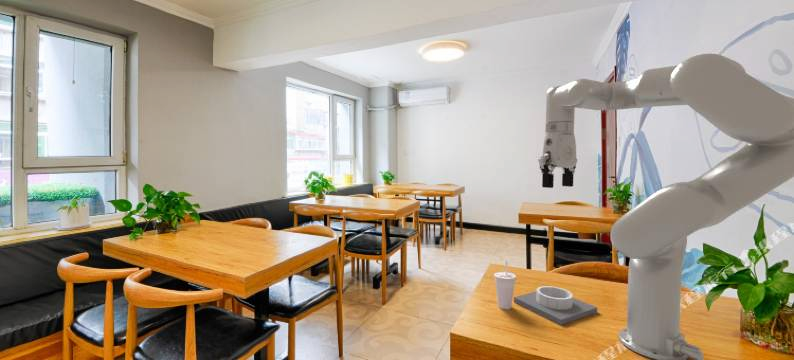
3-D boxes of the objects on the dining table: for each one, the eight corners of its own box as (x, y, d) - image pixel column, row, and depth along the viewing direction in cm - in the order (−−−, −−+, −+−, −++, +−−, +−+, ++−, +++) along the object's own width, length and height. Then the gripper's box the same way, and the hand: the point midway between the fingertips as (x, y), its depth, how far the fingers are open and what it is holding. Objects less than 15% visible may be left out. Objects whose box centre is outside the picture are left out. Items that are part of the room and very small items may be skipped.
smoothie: (520, 309, 92) (521, 262, 92) (503, 313, 90) (503, 265, 89) (505, 300, 98) (506, 256, 97) (489, 304, 96) (489, 259, 95)
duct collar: (597, 312, 90) (597, 297, 90) (560, 325, 83) (561, 308, 83) (548, 292, 104) (548, 279, 104) (513, 301, 97) (514, 287, 97)
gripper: (553, 126, 84) (551, 189, 85) (588, 129, 93) (586, 186, 94) (529, 129, 91) (528, 187, 92) (564, 132, 100) (563, 185, 100)
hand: (557, 186), depth 93 cm, fingers open, 9 cm apart
